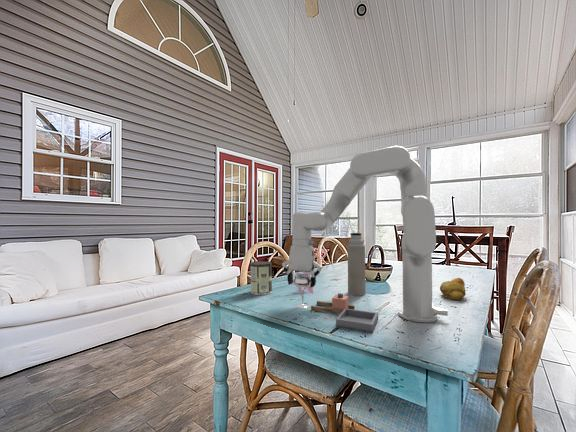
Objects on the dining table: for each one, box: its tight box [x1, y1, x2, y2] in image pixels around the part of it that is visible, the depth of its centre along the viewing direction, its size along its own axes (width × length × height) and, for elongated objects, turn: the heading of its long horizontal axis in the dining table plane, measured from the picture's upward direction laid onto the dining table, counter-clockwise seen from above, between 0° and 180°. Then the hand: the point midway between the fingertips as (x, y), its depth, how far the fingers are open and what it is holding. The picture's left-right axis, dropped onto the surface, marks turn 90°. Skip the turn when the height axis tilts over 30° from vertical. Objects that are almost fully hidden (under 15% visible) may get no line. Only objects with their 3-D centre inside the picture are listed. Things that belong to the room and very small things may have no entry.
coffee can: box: [249, 260, 273, 296], centre depth 135 cm, size 10×10×14 cm
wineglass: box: [293, 273, 311, 309], centre depth 114 cm, size 7×7×12 cm
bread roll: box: [439, 277, 466, 301], centre depth 123 cm, size 13×10×8 cm
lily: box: [291, 271, 318, 295], centre depth 136 cm, size 12×12×10 cm
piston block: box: [331, 292, 350, 310], centre depth 107 cm, size 5×5×6 cm
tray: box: [335, 309, 379, 334], centre depth 94 cm, size 12×12×2 cm
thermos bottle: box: [347, 232, 367, 296], centre depth 131 cm, size 8×8×28 cm
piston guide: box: [310, 300, 356, 315], centre depth 107 cm, size 15×10×2 cm
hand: (301, 285), depth 114 cm, fingers open, 9 cm apart
